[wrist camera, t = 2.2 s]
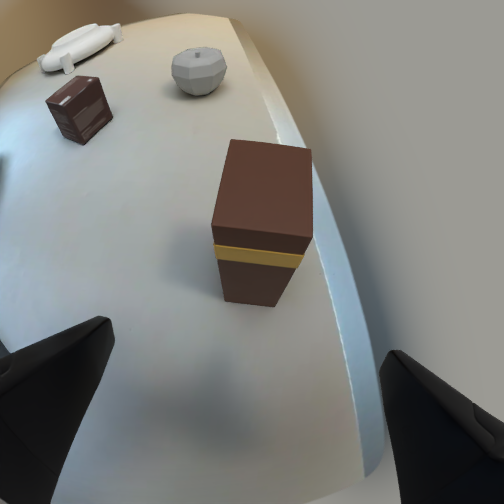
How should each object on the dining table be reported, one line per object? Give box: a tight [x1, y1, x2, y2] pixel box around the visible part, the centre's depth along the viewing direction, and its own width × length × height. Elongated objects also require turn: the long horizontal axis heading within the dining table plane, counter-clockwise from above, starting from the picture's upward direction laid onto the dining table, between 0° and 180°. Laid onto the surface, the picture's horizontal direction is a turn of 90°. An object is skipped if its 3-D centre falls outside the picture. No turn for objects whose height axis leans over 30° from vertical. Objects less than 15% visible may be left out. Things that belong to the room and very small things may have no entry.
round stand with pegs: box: [37, 24, 123, 74], centre depth 40 cm, size 24×24×7 cm
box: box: [45, 76, 113, 145], centre depth 27 cm, size 6×6×7 cm
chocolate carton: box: [211, 139, 313, 307], centre depth 17 cm, size 5×4×12 cm
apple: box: [172, 47, 227, 96], centre depth 30 cm, size 8×8×7 cm
